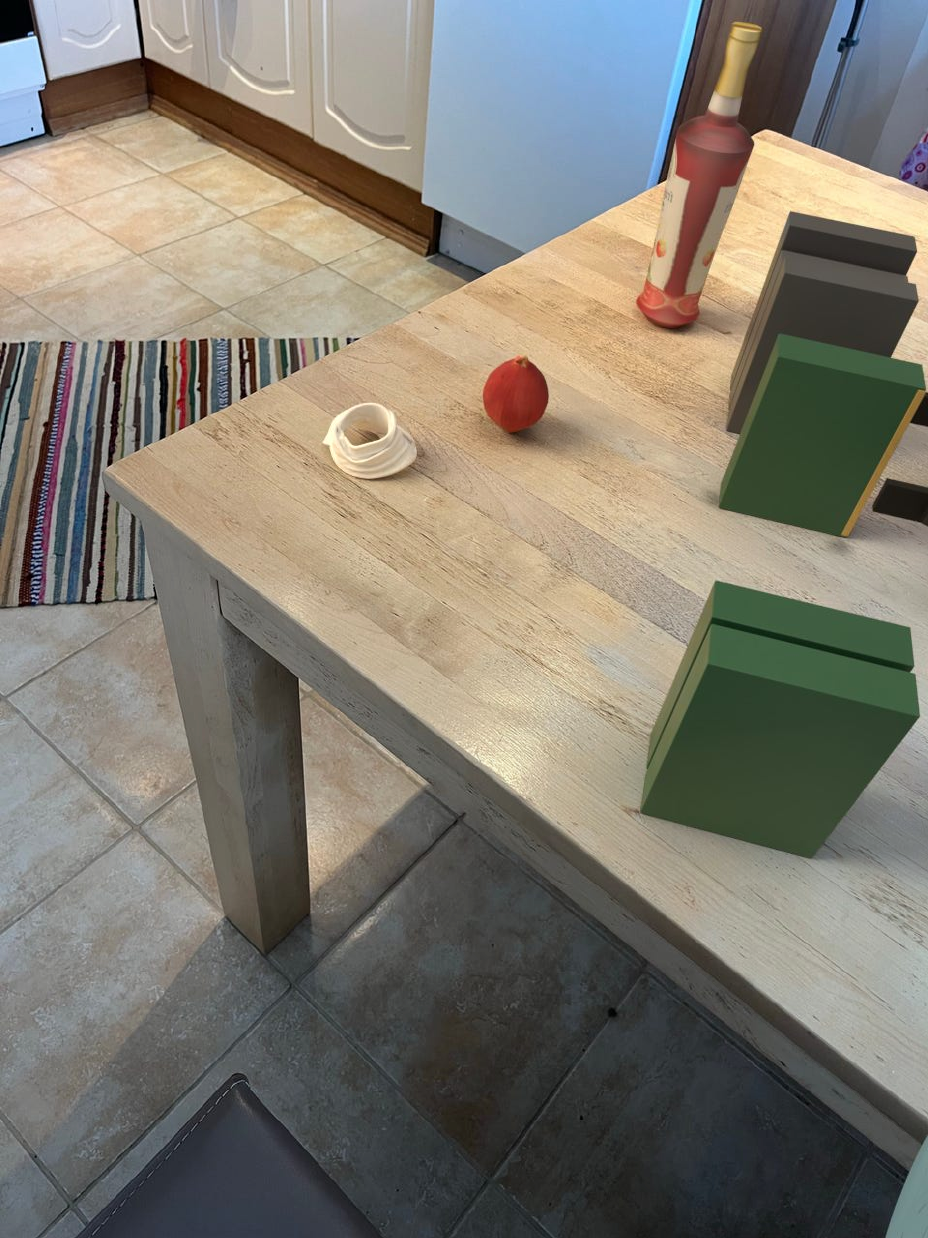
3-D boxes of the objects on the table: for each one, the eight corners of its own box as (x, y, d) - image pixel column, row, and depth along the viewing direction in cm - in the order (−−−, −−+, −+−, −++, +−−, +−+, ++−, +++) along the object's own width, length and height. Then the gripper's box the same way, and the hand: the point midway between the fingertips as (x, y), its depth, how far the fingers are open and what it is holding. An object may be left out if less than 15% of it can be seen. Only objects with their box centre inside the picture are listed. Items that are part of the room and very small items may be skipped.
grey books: (842, 457, 89) (924, 289, 76) (725, 430, 90) (788, 260, 77) (839, 399, 96) (914, 235, 83) (731, 375, 97) (789, 210, 84)
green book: (847, 538, 81) (928, 389, 70) (718, 508, 82) (778, 356, 71) (845, 512, 83) (923, 364, 72) (720, 483, 84) (778, 332, 73)
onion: (474, 410, 88) (485, 333, 82) (535, 411, 89) (549, 335, 83) (482, 449, 84) (493, 372, 78) (546, 450, 85) (561, 373, 79)
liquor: (697, 341, 100) (790, 46, 80) (628, 327, 101) (704, 31, 80) (699, 307, 105) (787, 21, 85) (634, 294, 106) (706, 7, 85)
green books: (811, 859, 59) (920, 716, 48) (639, 813, 60) (707, 663, 49) (811, 775, 64) (910, 626, 53) (650, 733, 65) (715, 579, 54)
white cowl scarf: (426, 459, 84) (436, 412, 80) (393, 496, 79) (402, 448, 76) (346, 425, 85) (352, 377, 82) (309, 460, 80) (314, 411, 77)
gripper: (1157, 651, 68) (862, 580, 70) (1088, 451, 85) (851, 398, 87) (1229, 578, 63) (907, 503, 65) (1140, 379, 80) (886, 324, 82)
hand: (874, 442), depth 76 cm, fingers open, 13 cm apart
